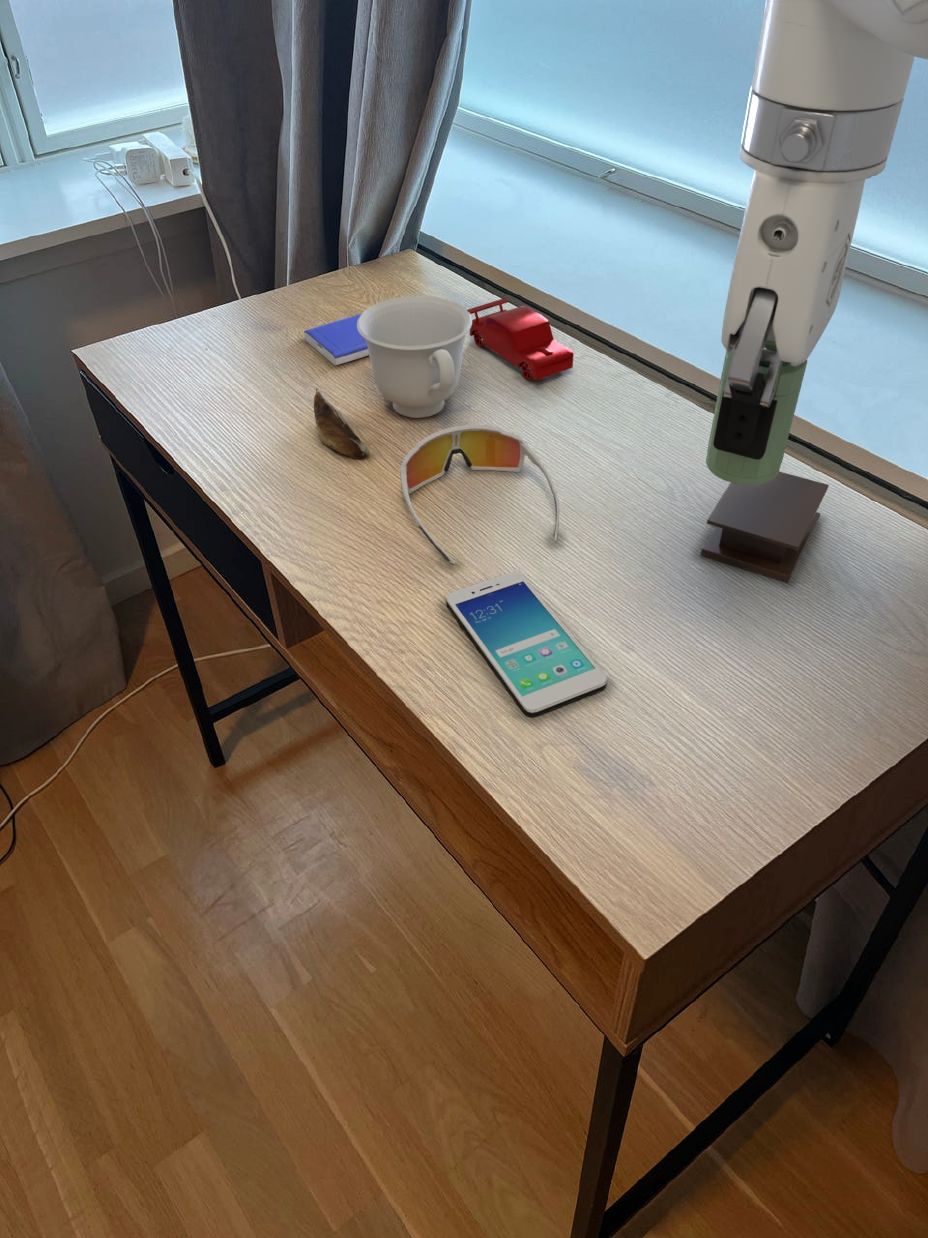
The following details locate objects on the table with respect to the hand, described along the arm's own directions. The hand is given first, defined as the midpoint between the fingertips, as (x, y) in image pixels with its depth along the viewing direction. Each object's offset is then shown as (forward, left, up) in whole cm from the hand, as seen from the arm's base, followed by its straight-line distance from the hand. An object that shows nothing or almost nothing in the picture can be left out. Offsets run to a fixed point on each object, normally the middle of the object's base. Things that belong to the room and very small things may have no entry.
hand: (751, 428), depth 63 cm
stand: (0, -18, -22) cm, 28 cm away
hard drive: (+54, -34, -22) cm, 68 cm away
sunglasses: (+25, -10, -22) cm, 35 cm away
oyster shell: (+44, -14, -22) cm, 51 cm away
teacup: (+39, -23, -22) cm, 50 cm away
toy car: (+36, -38, -22) cm, 57 cm away
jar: (0, 0, -3) cm, 3 cm away
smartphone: (+13, +5, -22) cm, 26 cm away
